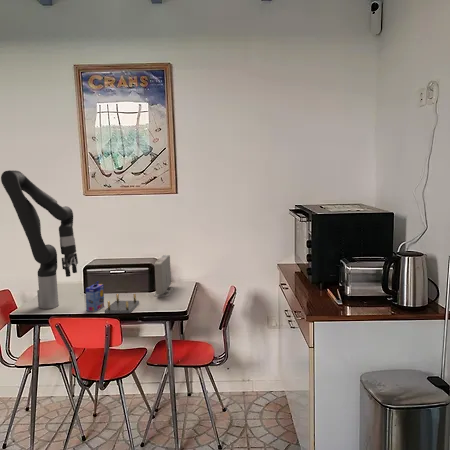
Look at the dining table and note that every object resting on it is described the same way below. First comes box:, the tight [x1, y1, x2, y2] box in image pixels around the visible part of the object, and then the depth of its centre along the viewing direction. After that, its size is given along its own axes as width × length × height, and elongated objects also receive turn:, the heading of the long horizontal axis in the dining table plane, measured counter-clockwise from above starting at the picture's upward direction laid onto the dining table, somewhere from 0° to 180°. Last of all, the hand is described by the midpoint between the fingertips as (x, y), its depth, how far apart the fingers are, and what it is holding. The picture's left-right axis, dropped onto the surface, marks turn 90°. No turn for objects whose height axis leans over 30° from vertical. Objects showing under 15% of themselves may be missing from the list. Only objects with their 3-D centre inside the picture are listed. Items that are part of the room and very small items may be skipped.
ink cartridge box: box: [85, 280, 105, 313], centre depth 230 cm, size 10×6×14 cm, turn 167°
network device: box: [153, 254, 174, 298], centre depth 259 cm, size 26×9×20 cm, turn 176°
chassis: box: [104, 293, 140, 314], centre depth 230 cm, size 13×17×6 cm
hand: (71, 274), depth 234 cm, fingers open, 8 cm apart
